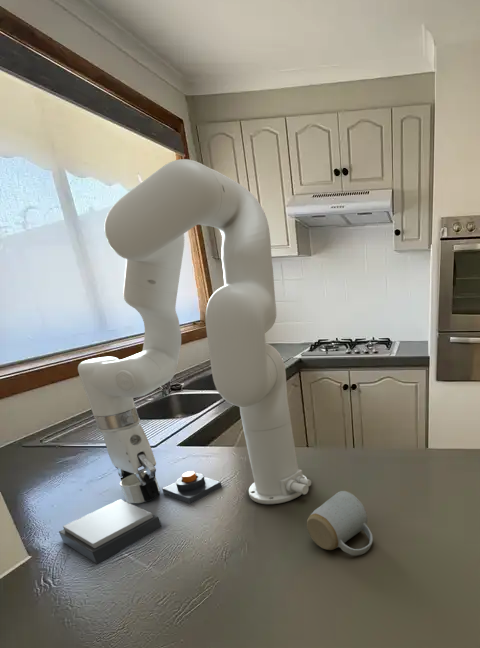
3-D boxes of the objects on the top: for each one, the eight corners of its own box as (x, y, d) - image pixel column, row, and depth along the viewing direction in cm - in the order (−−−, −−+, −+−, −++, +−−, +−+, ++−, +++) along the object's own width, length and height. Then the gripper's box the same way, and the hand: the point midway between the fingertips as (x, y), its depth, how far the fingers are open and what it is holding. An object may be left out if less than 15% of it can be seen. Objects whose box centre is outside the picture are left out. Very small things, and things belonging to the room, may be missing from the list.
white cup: (166, 493, 94) (160, 474, 92) (136, 508, 89) (130, 489, 87) (149, 486, 98) (144, 469, 96) (120, 500, 92) (113, 482, 91)
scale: (162, 527, 81) (157, 512, 80) (97, 564, 72) (90, 547, 71) (126, 511, 88) (121, 496, 87) (63, 542, 79) (56, 526, 78)
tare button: (199, 478, 94) (197, 472, 93) (188, 484, 91) (186, 477, 91) (191, 476, 95) (190, 470, 94) (180, 481, 93) (178, 475, 92)
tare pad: (222, 487, 95) (219, 475, 94) (190, 504, 89) (187, 491, 87) (194, 478, 100) (191, 466, 99) (163, 493, 94) (160, 481, 93)
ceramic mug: (306, 544, 73) (300, 506, 70) (338, 521, 78) (333, 485, 75) (353, 567, 66) (349, 526, 63) (384, 540, 72) (381, 501, 69)
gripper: (158, 418, 84) (181, 495, 91) (114, 408, 94) (138, 479, 100) (121, 431, 79) (148, 512, 86) (78, 419, 88) (105, 493, 95)
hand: (142, 493), depth 93 cm, fingers closed on white cup, 6 cm apart
